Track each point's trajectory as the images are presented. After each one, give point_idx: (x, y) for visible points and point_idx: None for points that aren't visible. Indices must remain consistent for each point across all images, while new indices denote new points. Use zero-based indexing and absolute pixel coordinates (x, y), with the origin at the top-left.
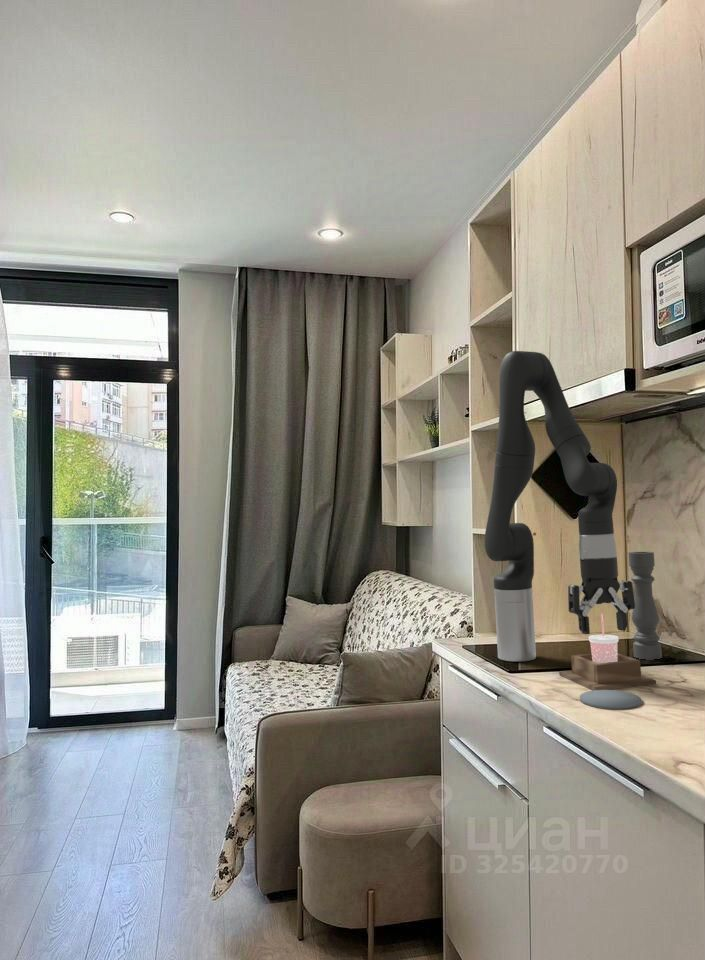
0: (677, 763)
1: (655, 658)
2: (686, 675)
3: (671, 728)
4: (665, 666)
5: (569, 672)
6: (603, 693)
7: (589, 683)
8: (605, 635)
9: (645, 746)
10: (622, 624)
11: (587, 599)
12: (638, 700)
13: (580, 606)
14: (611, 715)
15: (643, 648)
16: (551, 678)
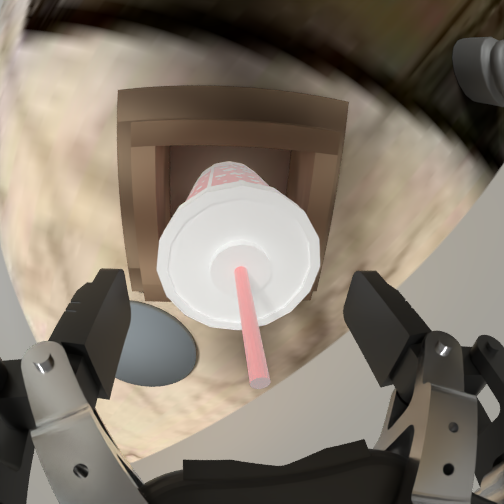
0: (129, 454)
1: (474, 100)
2: (420, 246)
3: (166, 429)
4: (451, 157)
5: (141, 114)
6: (134, 329)
7: (134, 259)
8: (258, 267)
9: (117, 438)
10: (356, 334)
11: (116, 493)
12: (179, 376)
13: (40, 419)
14: (112, 389)
15: (479, 81)
16: (82, 122)
